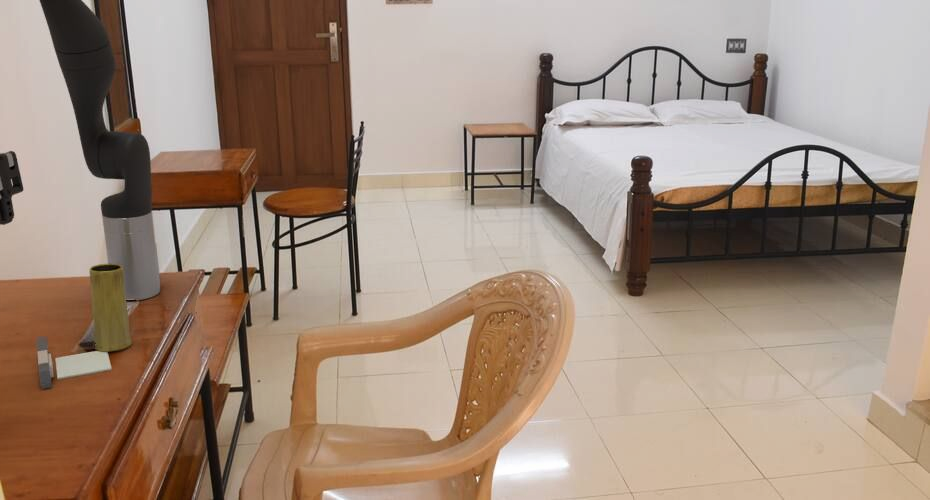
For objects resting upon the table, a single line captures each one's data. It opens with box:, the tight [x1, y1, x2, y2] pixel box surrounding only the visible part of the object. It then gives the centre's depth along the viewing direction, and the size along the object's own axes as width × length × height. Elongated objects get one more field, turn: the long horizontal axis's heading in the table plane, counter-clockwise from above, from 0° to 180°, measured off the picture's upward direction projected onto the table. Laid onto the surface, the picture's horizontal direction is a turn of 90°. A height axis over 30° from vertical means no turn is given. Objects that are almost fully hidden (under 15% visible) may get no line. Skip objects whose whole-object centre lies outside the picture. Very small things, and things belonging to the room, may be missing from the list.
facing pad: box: [55, 350, 113, 380], centre depth 133 cm, size 8×8×1 cm
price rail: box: [35, 336, 55, 390], centre depth 131 cm, size 14×2×3 cm, turn 28°
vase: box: [89, 263, 133, 353], centre depth 138 cm, size 6×6×14 cm
